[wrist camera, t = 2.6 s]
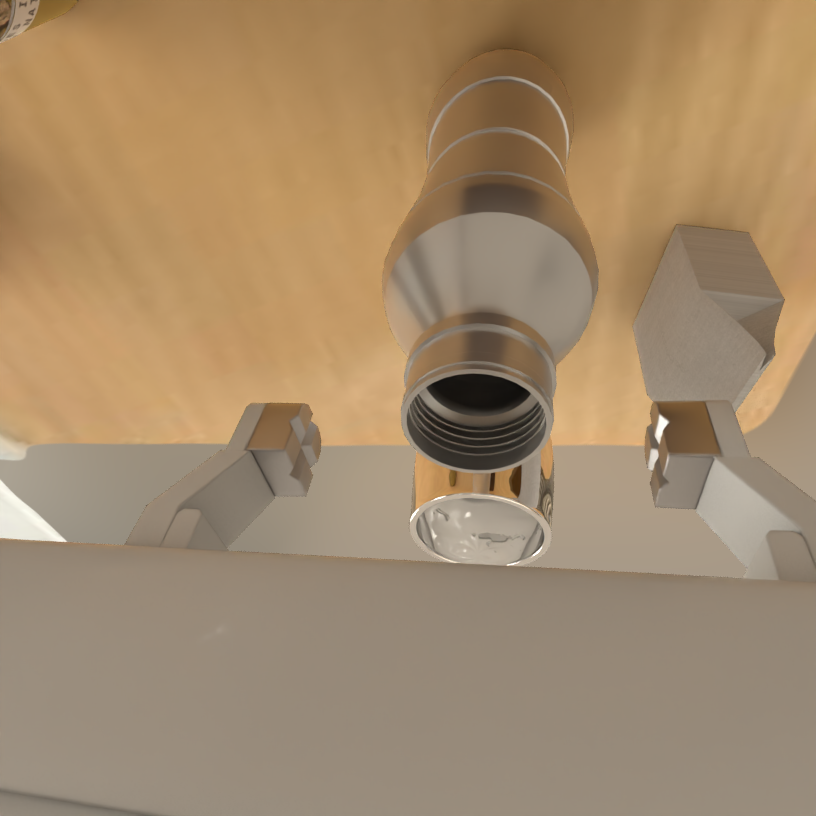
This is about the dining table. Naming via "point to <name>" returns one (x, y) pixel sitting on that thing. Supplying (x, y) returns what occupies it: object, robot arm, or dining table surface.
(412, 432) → the silver metal bottle
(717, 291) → the paper bag
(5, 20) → the wooden log
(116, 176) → the dining table surface
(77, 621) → the robot arm
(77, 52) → the dining table surface
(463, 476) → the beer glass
